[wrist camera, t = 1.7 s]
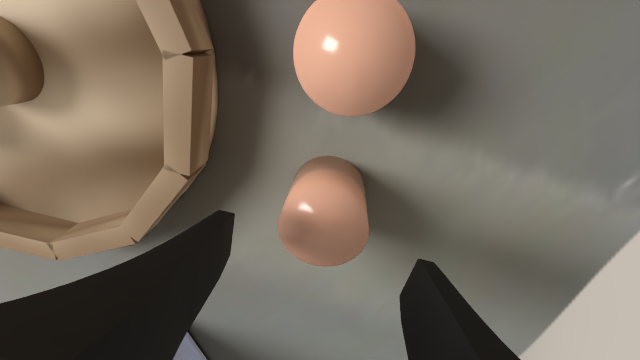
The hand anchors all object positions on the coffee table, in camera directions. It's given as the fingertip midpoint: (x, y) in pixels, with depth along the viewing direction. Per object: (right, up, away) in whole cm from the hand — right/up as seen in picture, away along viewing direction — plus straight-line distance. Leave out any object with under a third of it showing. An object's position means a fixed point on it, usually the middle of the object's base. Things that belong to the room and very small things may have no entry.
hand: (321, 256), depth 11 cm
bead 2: (0, +2, +5) cm, 6 cm away
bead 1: (+1, +9, +2) cm, 9 cm away
